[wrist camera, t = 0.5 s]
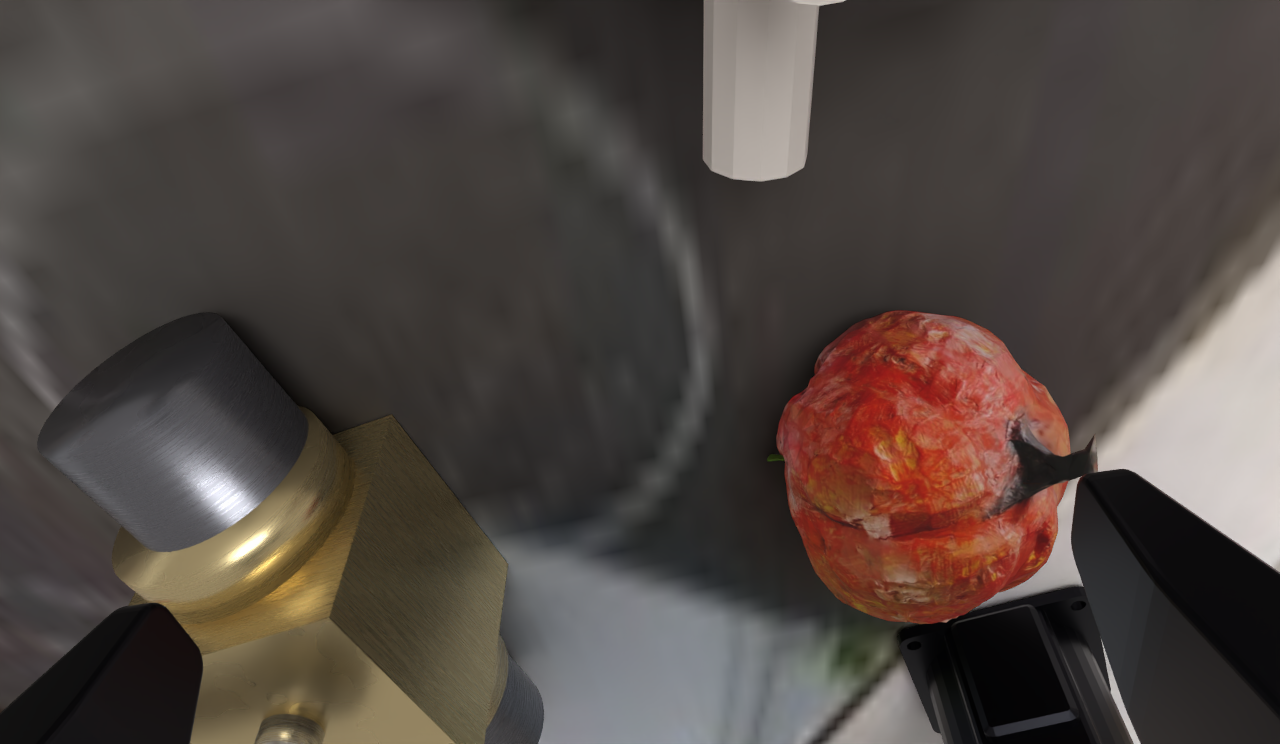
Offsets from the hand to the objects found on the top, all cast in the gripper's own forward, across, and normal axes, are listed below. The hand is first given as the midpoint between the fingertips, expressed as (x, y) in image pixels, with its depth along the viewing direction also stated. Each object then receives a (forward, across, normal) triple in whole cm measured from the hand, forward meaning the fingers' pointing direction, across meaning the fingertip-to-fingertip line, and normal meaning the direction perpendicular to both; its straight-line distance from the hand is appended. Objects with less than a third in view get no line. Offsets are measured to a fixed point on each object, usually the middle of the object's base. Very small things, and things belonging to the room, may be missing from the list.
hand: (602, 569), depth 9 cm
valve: (+14, +11, +13) cm, 22 cm away
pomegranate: (+15, -5, +10) cm, 19 cm away
